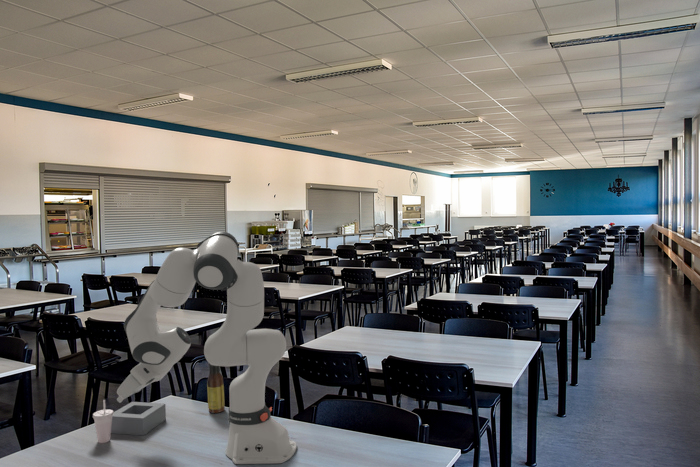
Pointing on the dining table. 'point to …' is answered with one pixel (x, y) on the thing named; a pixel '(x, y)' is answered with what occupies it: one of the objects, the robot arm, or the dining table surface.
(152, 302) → the robot arm
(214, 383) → the sauce bottle
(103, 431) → the smoothie
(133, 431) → the box
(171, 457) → the dining table surface
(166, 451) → the dining table surface
